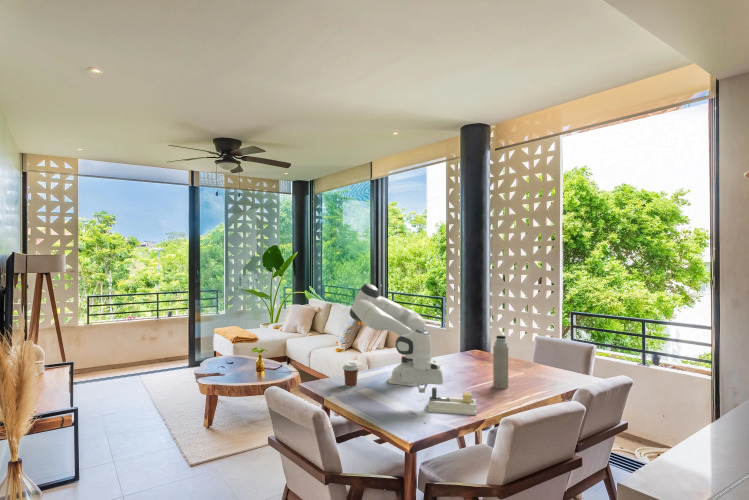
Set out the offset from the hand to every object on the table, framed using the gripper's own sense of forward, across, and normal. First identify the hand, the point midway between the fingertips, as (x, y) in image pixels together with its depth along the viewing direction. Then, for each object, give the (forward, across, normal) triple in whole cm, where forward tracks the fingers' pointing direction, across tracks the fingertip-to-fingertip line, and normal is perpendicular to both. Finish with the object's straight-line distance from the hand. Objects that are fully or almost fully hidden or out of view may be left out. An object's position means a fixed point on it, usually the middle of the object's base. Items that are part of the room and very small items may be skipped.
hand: (421, 392), depth 212 cm
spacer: (+5, +21, 0) cm, 22 cm away
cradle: (+7, +14, 0) cm, 16 cm away
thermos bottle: (+7, +40, +41) cm, 58 cm away
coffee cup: (+7, -42, +26) cm, 50 cm away
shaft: (+5, +8, 0) cm, 10 cm away
